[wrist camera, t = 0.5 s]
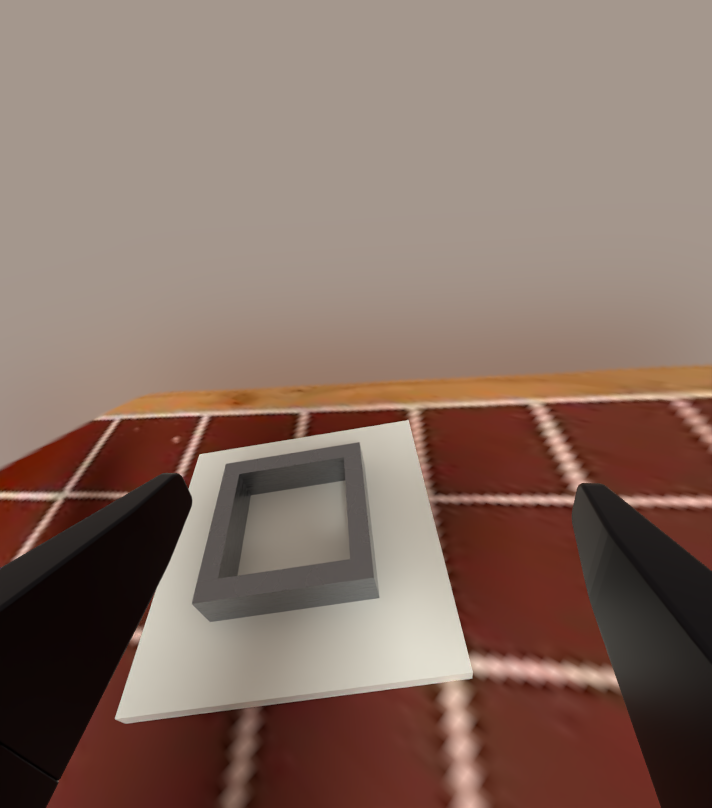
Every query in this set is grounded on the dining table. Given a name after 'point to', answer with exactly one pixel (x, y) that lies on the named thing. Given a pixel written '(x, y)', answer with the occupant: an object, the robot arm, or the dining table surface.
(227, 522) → the collar
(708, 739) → the robot arm
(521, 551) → the dining table surface
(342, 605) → the mat
